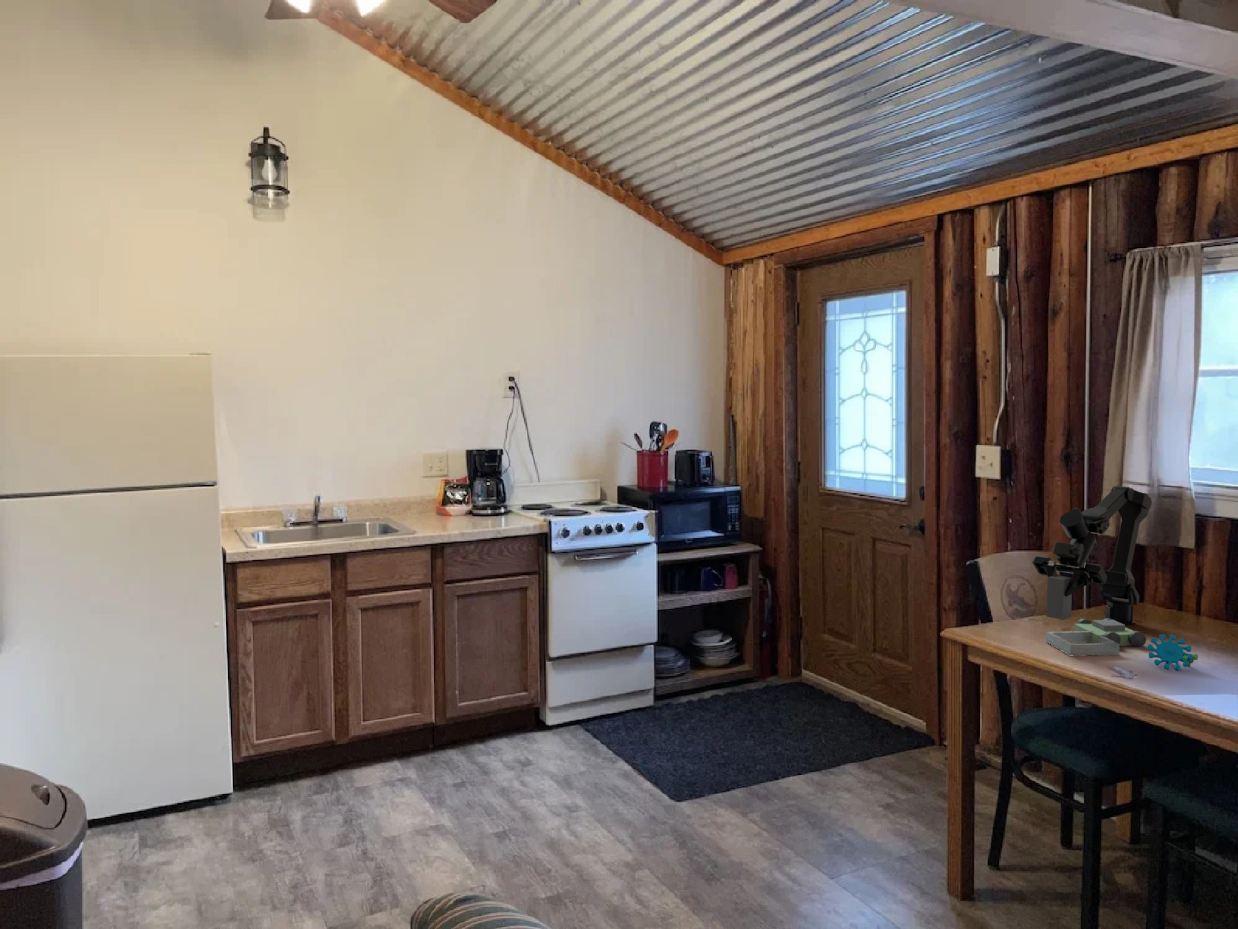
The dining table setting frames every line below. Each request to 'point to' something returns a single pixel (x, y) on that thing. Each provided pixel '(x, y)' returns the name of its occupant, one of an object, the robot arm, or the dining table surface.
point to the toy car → (1111, 631)
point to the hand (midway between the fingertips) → (1057, 594)
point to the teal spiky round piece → (1171, 652)
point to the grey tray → (1082, 643)
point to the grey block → (1058, 597)
